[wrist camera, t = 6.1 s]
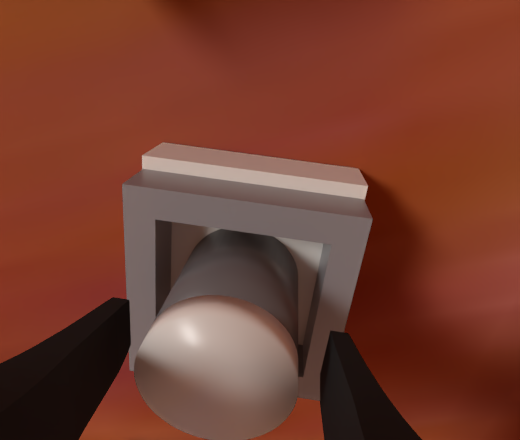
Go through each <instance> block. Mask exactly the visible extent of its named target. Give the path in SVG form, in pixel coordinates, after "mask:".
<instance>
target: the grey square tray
mask: <svg viewBox="0 0 520 440" xmlns="http://www.w3.org/2000/svg"><path fill="white" fill-rule="evenodd" d="M367 189H368V185H367V183H366V181H365V179H364V178H363V176H362V174H361V172H360V170H359V169H357V168H350V167H342V166H335V165H327V164H320V163H313V162H305V161H298V160H290V159H283V158H275V157H268V156H260V155H253V154H245V153H238V152H230V151H223V150H216V149H208V148H201V147H193V146H186V145H178V144H171V143H161V144H160V145H158V146H156V147H155V148H153V149H152V150H150V151H148V152H147V153H145V154H144V155H142V170H141V171H140V172H138V173H137V174H136V175H134V176H133V177H131V178H130V179H129V180H127V181H126V182H124V183H123V184H122V191H123V216H124V240H125V265H126V290H127V300H129V302H130V331H131V346H130V348H129V364H130V370H131V371H134V363H135V358H136V355H137V352H138V350H139V348H140V346H141V344H142V342H143V340H144V339H145V337H146V335H147V333H148V331H149V329H150V328H151V326H152V324H153V322H154V320H155V318H156V317H157V315H158V313H159V311H160V309H161V308H162V306H163V304H164V302H165V300H166V298H167V297H168V295H169V293H170V291H171V289H172V287H173V286H174V284H175V282H176V280H177V278H178V276H179V275H180V273H181V271H182V269H183V267H184V265H185V264H186V262H187V260H188V258H189V256H190V255H191V253H192V251H193V249H194V248H195V246H196V245H197V244H198V243H199V242H200V241H201V240H202V239H203V238H204V237H205V236H207V235H208V234H210V233H212V232H214V231H216V230H219V229H226V230H233V231H240V232H247V233H254V234H261V235H268V236H273V237H275V238H276V239H278V240H279V241H280V242H281V243H282V244H284V246H285V247H286V248H287V249H288V250H289V252H290V253H291V255H292V256H293V258H294V261H295V263H296V266H297V270H298V396H297V397H299V398H305V399H312V400H318V401H320V372H321V368H322V364H323V359H324V355H325V351H326V347H327V343H328V338H329V334H330V330H331V331H337V332H344V329H345V325H346V322H347V318H348V314H349V310H350V306H351V302H352V298H353V294H354V290H355V287H356V283H357V279H358V275H359V271H360V267H361V263H362V259H363V255H364V252H365V248H366V244H367V240H368V236H369V232H370V228H371V224H372V221H373V218H372V216H371V214H370V212H369V210H368V207H367V205H366V203H365V197H366V193H367Z"/></svg>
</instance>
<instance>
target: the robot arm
mask: <svg viewBox="0 0 520 440" xmlns="http://www.w3.org/2000/svg"><path fill="white" fill-rule="evenodd" d="M130 346H131V331H130V302H129V300H127V299H120V298H114V297H113V298H111V299H110V300H108V301H106V302H105V303H103V304H102V305H100V306H99V307H97V308H96V309H94V310H93V311H91V312H90V313H88V314H87V315H85V316H84V317H82V318H81V319H79V320H77V321H76V322H74V323H73V324H71V325H70V326H68V327H66V328H65V329H63V330H62V331H60V332H58V333H57V334H55V335H53V336H51V337H50V338H48V339H46V340H45V341H43V342H41V343H39V344H38V345H36V346H34V347H32V348H31V349H29V350H27V351H25V352H23V353H21V354H19V355H17V356H15V357H13V358H11V359H9V360H7V361H5V362H3V363H1V364H0V440H79V438H80V436H81V434H82V432H83V431H84V429H85V427H86V426H87V424H88V422H89V421H90V419H91V417H92V416H93V414H94V412H95V411H96V409H97V407H98V406H99V404H100V402H101V401H102V399H103V397H104V396H105V394H106V393H107V391H108V389H109V387H110V386H111V384H112V382H113V381H114V379H115V377H116V376H117V374H118V372H119V370H120V368H121V366H122V364H123V362H124V360H125V357H126V355H127V353H128V350H129V348H130ZM320 406H321V415H322V423H323V431H324V439H325V440H422V439H421V438H420V437H419V436H418V435H417V434H416V433H415V431H414V430H413V429H412V428H411V427H410V425H409V424H408V423H407V422H406V421H405V419H404V418H403V417H402V416H401V414H400V413H399V412H398V411H397V409H396V408H395V407H394V405H393V404H392V402H391V401H390V400H389V398H388V397H387V396H386V394H385V393H384V391H383V390H382V388H381V387H380V385H379V384H378V382H377V381H376V379H375V378H374V376H373V375H372V373H371V371H370V370H369V368H368V367H367V365H366V363H365V362H364V360H363V358H362V357H361V355H360V353H359V351H358V350H357V348H356V346H355V344H354V342H353V340H352V339H351V337H350V335H349V334H348V333H344V332H337V331H331V330H330V334H329V338H328V343H327V347H326V351H325V355H324V359H323V364H322V368H321V372H320Z"/></svg>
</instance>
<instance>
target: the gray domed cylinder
mask: <svg viewBox="0 0 520 440" xmlns="http://www.w3.org/2000/svg"><path fill="white" fill-rule="evenodd" d="M134 377H135V381H136V385H137V388H138V390H139V392H140V394H141V396H142V398H143V400H144V401H145V402H146V404H147V405H148V406H149V407H150V408H151V409H152V411H153V412H154V413H155V414H157V415H158V416H159V417H160V418H161V419H163V420H164V421H165V422H167V423H168V424H170V425H172V426H173V427H175V428H177V429H179V430H181V431H183V432H186V433H188V434H191V435H194V436H197V437H201V438H205V439H210V440H246V439H250V438H255V437H258V436H260V435H263V434H265V433H267V432H269V431H272V430H273V429H275V428H276V427H278V426H279V425H280V424H281V423H282V422H283V421H285V420H286V418H287V417H288V416H289V415H290V413H291V412H292V410H293V408H294V406H295V403H296V401H297V396H298V270H297V266H296V263H295V261H294V258H293V256H292V255H291V253H290V252H289V250H288V249H287V248H286V247H285V246H284V244H282V243H281V242H280V241H279V240H278V239H276V238H275V237H273V236H268V235H261V234H254V233H247V232H240V231H233V230H226V229H219V230H216V231H214V232H212V233H210V234H208V235H207V236H205V237H204V238H203V239H202V240H201V241H200V242H199V243H198V244H197V245H196V246H195V248H194V249H193V251H192V253H191V255H190V256H189V258H188V260H187V262H186V264H185V265H184V267H183V269H182V271H181V273H180V275H179V276H178V278H177V280H176V282H175V284H174V286H173V287H172V289H171V291H170V293H169V295H168V297H167V298H166V300H165V302H164V304H163V306H162V308H161V309H160V311H159V313H158V315H157V317H156V318H155V320H154V322H153V324H152V326H151V328H150V329H149V331H148V333H147V335H146V337H145V339H144V340H143V342H142V344H141V346H140V348H139V350H138V352H137V355H136V358H135V363H134Z"/></svg>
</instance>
